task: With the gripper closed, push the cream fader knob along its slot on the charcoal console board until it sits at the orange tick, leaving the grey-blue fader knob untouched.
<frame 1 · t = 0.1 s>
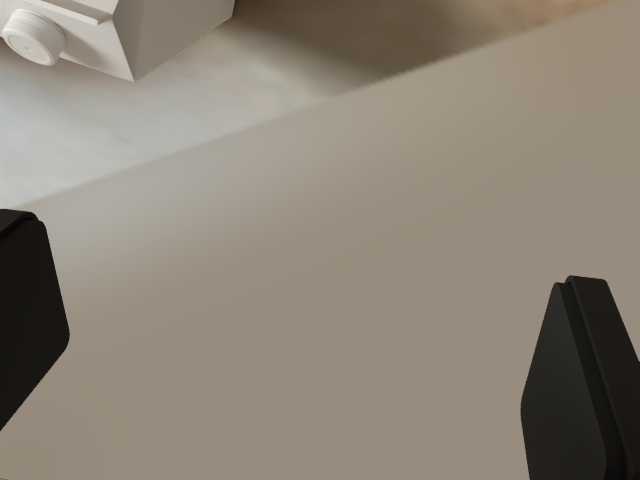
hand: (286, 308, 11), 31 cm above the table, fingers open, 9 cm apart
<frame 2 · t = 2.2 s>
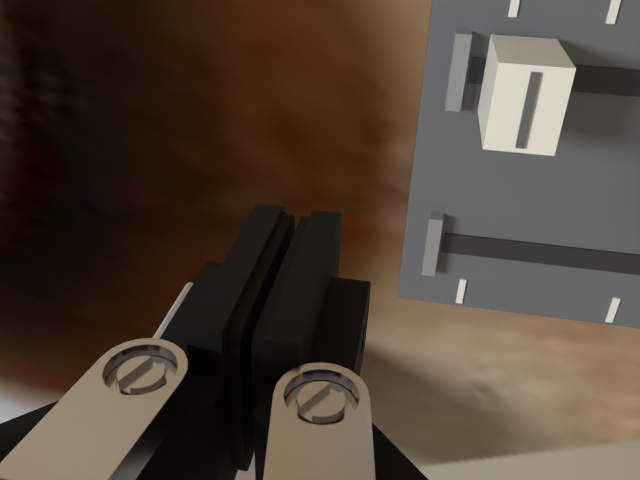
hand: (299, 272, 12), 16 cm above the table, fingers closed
fader a: (521, 92, 22), point 4 cm above the table, slide at 0.0 cm
milk carton: (237, 342, 36), on the table
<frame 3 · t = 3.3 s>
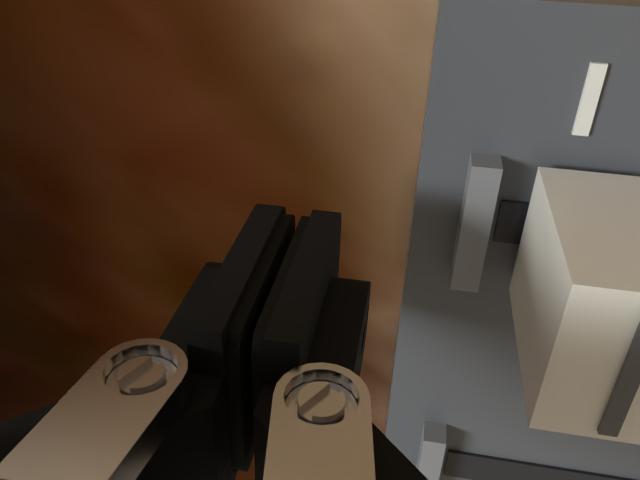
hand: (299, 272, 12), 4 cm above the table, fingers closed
fader a: (603, 297, 11), point 4 cm above the table, slide at 0.0 cm
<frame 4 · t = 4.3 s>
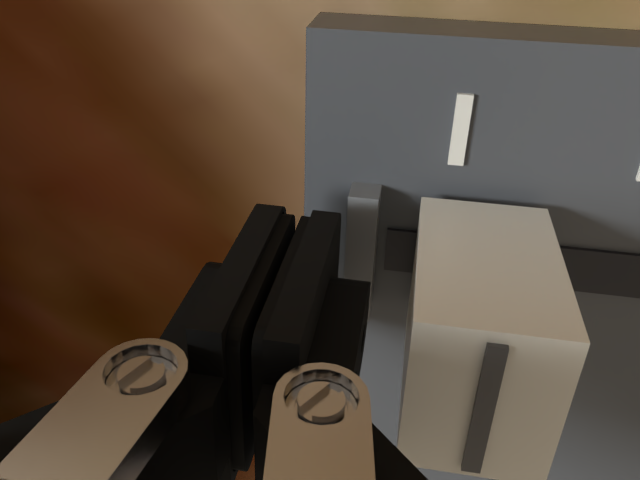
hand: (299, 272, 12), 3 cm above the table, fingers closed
fader a: (476, 329, 11), point 4 cm above the table, slide at 0.1 cm, touching gripper
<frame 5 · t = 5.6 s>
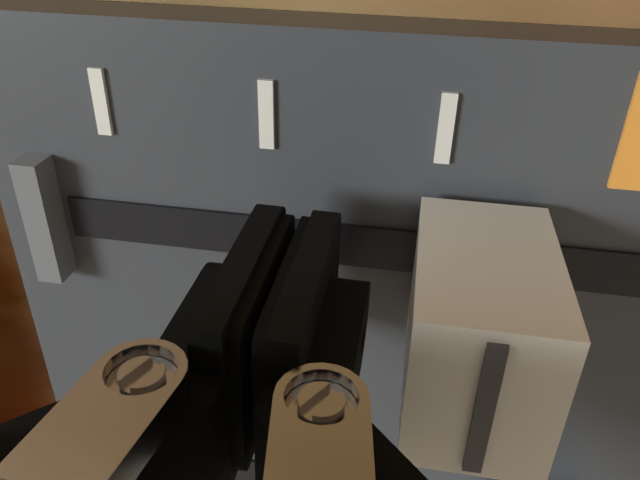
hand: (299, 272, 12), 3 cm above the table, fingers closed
console: (415, 335, 16), on the table
fader a: (477, 329, 11), point 4 cm above the table, slide at 7.4 cm, touching gripper
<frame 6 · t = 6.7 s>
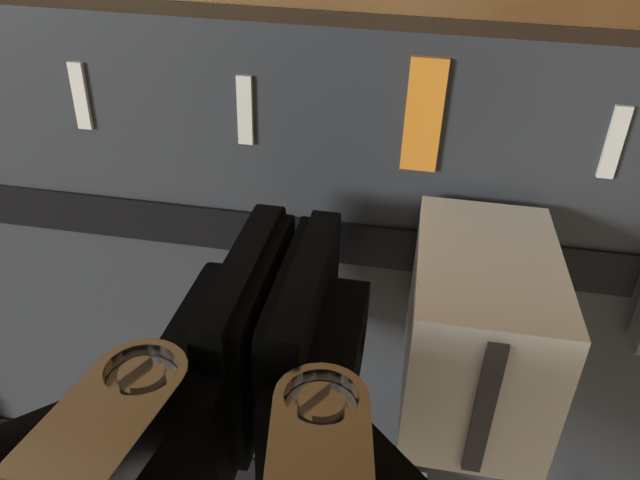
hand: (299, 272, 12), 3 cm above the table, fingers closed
console: (268, 315, 17), on the table
fader a: (477, 328, 11), point 4 cm above the table, slide at 11.4 cm, touching gripper
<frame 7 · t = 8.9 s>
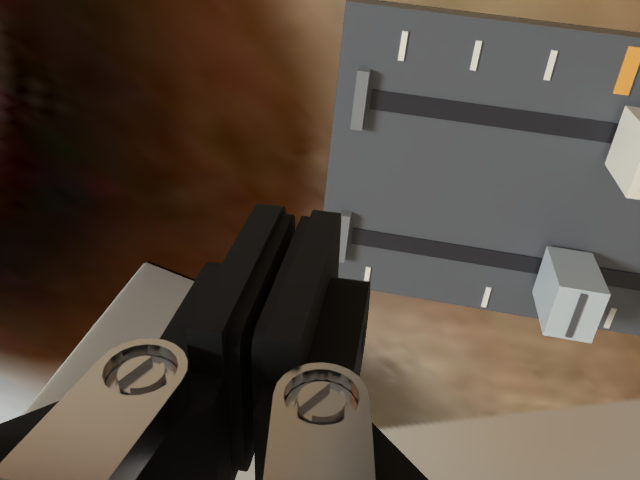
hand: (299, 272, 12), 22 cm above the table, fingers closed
console: (513, 174, 33), on the table
fader b: (568, 293, 32), point 4 cm above the table, slide at 10.0 cm
milk carton: (184, 317, 42), on the table
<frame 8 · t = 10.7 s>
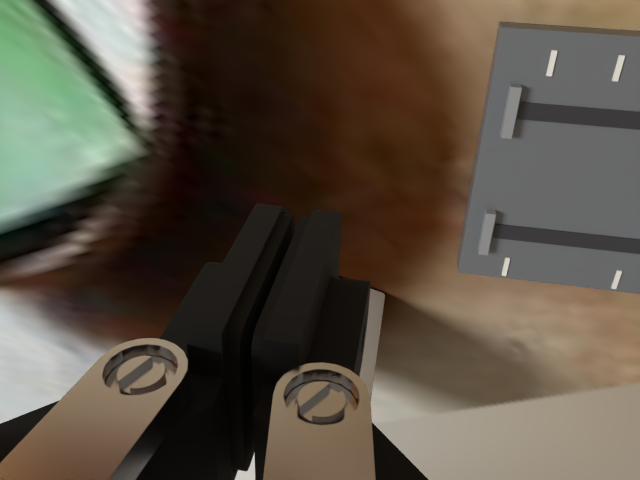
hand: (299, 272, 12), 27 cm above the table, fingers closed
milk carton: (327, 310, 47), on the table
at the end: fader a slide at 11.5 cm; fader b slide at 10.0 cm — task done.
